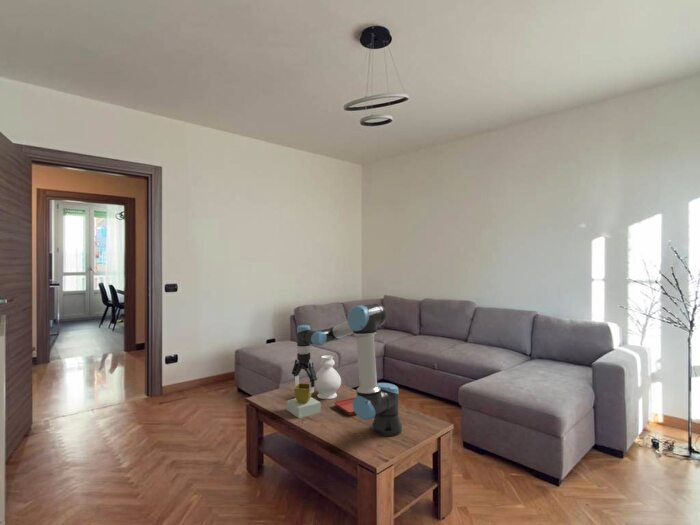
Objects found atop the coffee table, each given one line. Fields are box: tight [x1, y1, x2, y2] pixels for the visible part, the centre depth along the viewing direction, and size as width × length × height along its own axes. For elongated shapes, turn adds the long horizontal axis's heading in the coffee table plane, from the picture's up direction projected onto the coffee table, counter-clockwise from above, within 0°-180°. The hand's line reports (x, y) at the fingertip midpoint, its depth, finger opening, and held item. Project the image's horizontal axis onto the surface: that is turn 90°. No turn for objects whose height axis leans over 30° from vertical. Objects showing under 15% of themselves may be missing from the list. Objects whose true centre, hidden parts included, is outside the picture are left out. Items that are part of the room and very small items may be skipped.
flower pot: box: [293, 382, 313, 403], centre depth 218 cm, size 9×9×9 cm
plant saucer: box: [333, 396, 357, 416], centre depth 222 cm, size 18×18×3 cm
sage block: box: [286, 396, 322, 419], centre depth 219 cm, size 14×14×6 cm
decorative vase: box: [314, 354, 342, 400], centre depth 243 cm, size 18×18×25 cm
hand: (304, 389), depth 218 cm, fingers open, 13 cm apart
